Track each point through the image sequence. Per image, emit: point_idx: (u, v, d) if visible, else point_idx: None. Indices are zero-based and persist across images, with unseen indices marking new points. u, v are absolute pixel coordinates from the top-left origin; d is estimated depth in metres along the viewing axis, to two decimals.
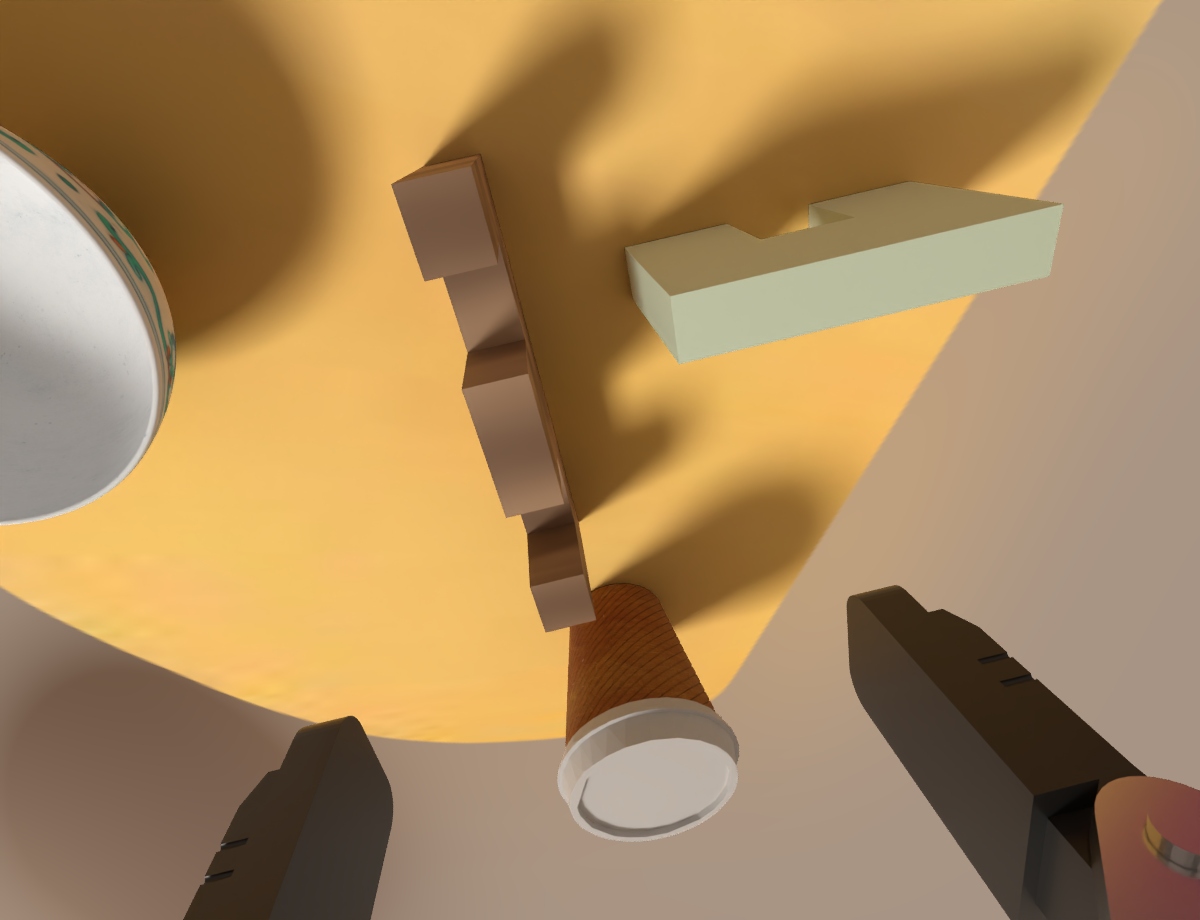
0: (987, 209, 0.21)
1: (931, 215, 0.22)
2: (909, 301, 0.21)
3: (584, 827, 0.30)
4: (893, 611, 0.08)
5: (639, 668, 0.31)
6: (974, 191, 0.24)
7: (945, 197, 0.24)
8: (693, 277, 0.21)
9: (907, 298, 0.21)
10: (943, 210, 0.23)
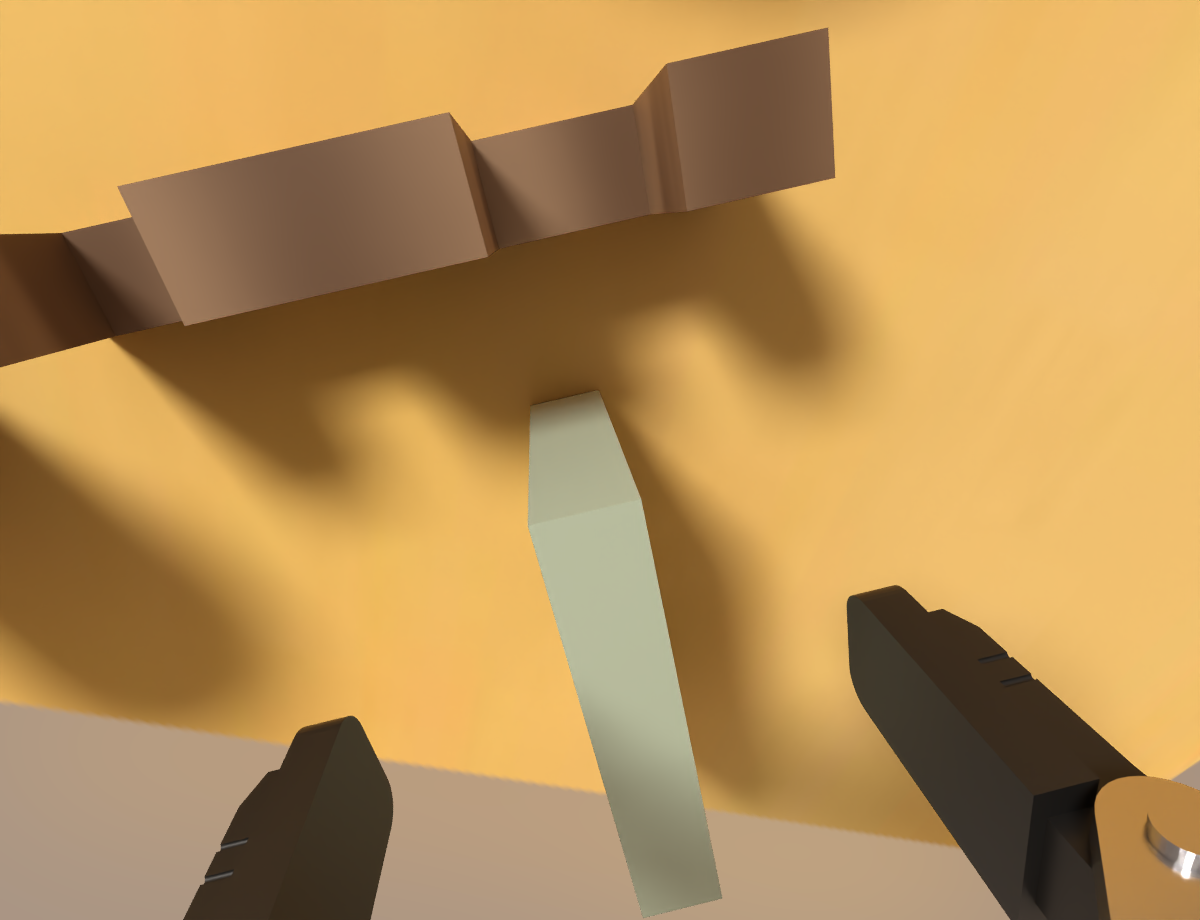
0: None
1: None
2: (619, 796, 0.16)
3: None
4: (893, 611, 0.08)
5: None
6: None
7: None
8: None
9: (622, 793, 0.16)
10: None
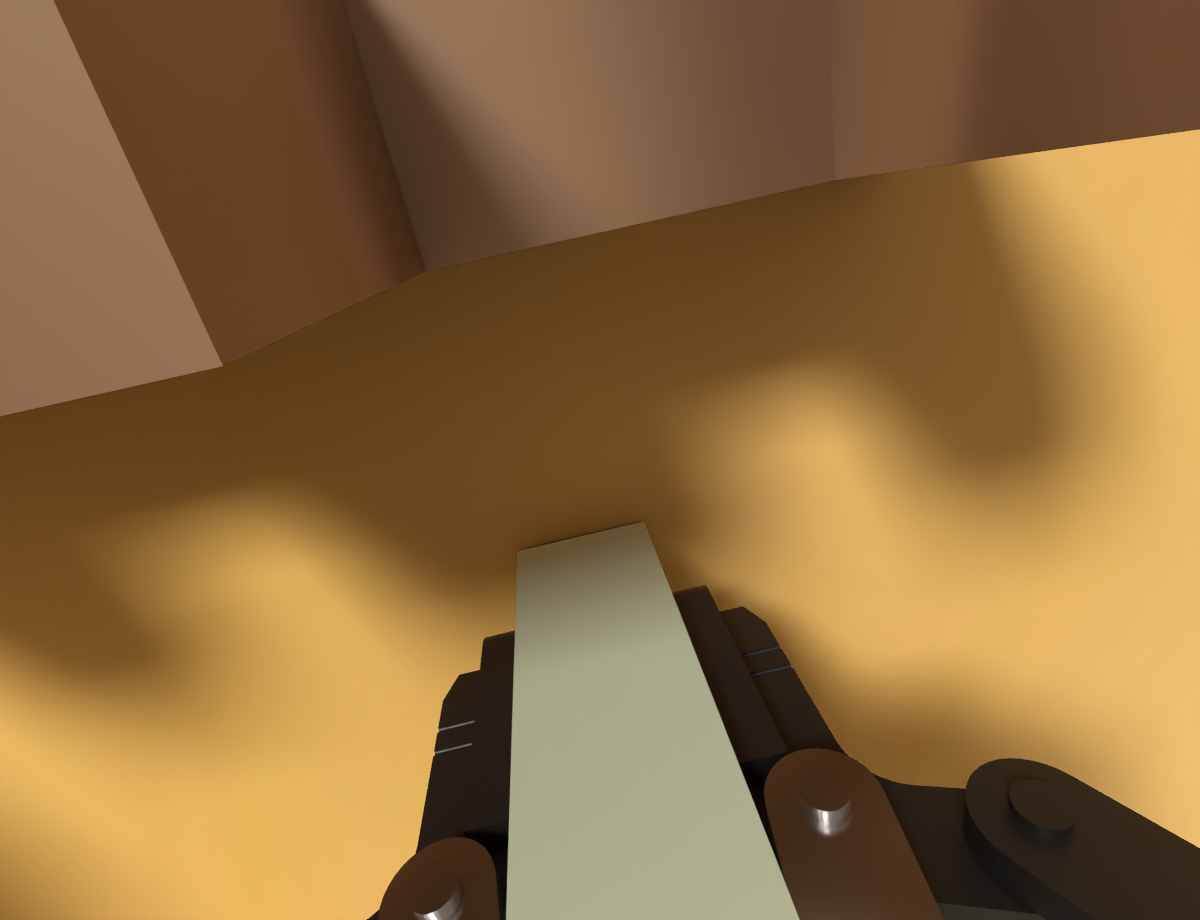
0: None
1: None
2: None
3: None
4: (690, 608, 0.09)
5: None
6: None
7: None
8: None
9: None
10: None
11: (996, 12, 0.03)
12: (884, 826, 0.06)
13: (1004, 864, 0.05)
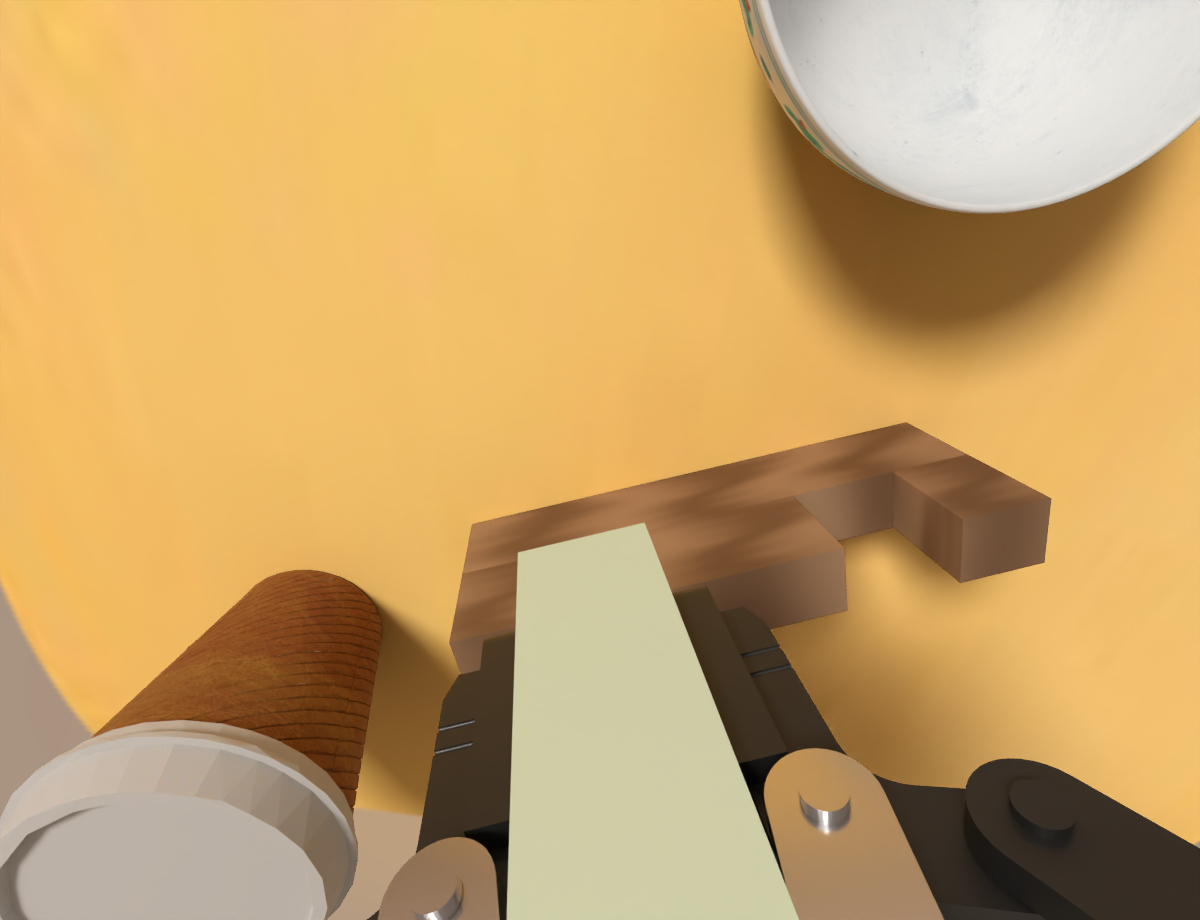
0: None
1: None
2: None
3: (27, 823, 0.14)
4: (690, 608, 0.09)
5: (356, 757, 0.20)
6: None
7: None
8: None
9: None
10: None
11: (925, 535, 0.22)
12: (884, 826, 0.06)
13: (1004, 865, 0.05)
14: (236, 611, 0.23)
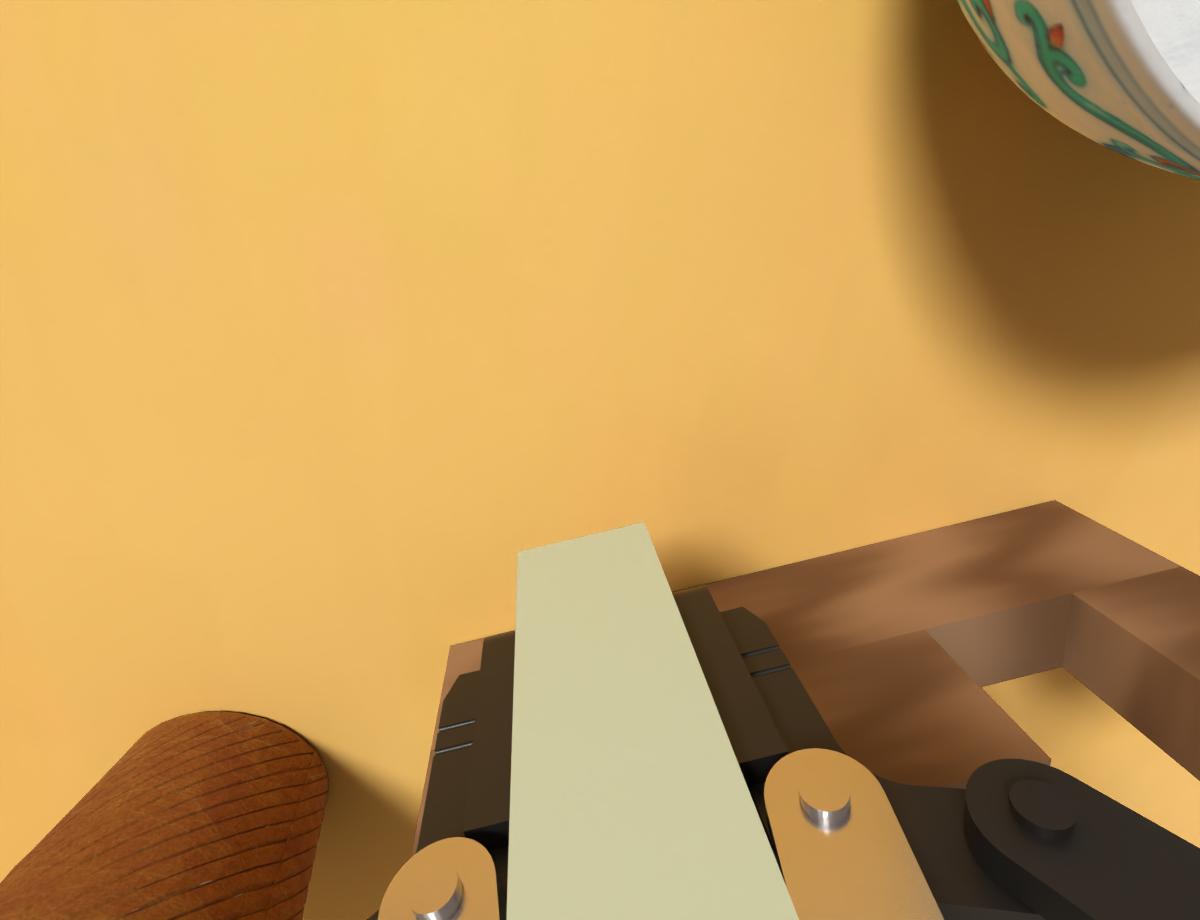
0: None
1: None
2: None
3: None
4: (690, 608, 0.09)
5: None
6: None
7: None
8: None
9: None
10: None
11: (1137, 700, 0.14)
12: (884, 826, 0.06)
13: (1004, 865, 0.05)
14: (96, 800, 0.15)
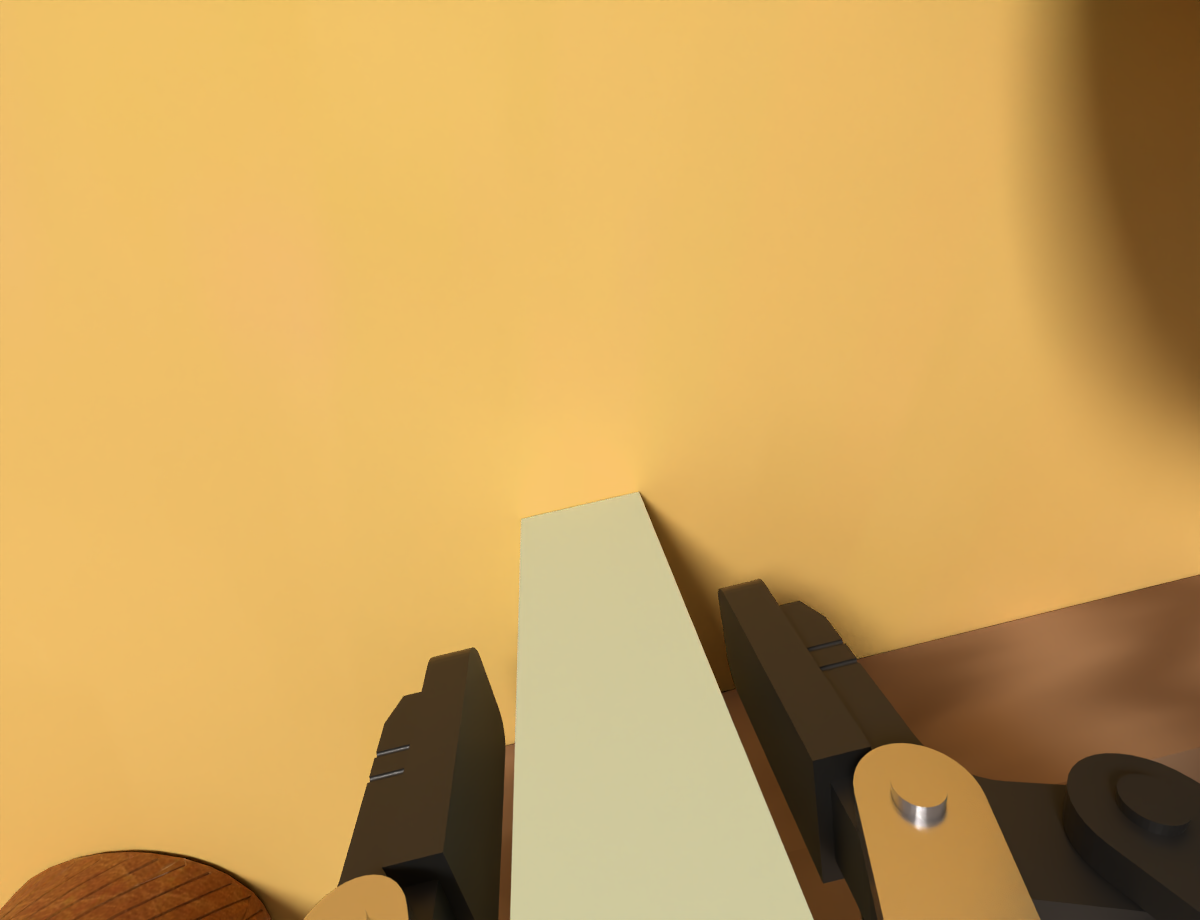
0: None
1: None
2: None
3: None
4: (747, 603, 0.09)
5: None
6: None
7: None
8: None
9: None
10: None
11: None
12: (985, 822, 0.06)
13: (1104, 852, 0.05)
14: None
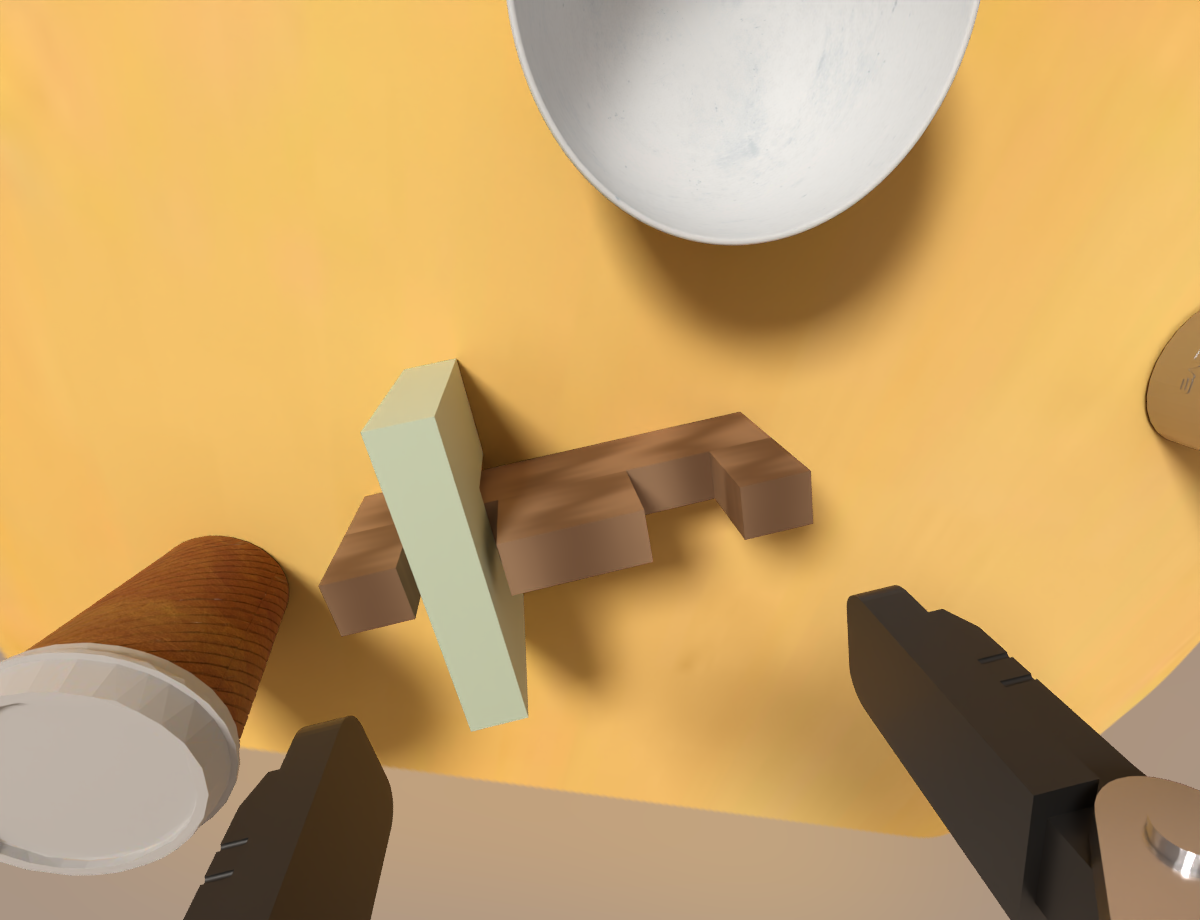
0: (518, 664, 0.26)
1: (510, 623, 0.26)
2: (442, 632, 0.23)
3: None
4: (893, 611, 0.08)
5: (247, 685, 0.24)
6: (525, 648, 0.29)
7: (519, 628, 0.29)
8: (449, 435, 0.22)
9: (445, 629, 0.23)
10: (514, 631, 0.27)
11: (727, 502, 0.26)
12: None
13: None
14: (150, 567, 0.27)
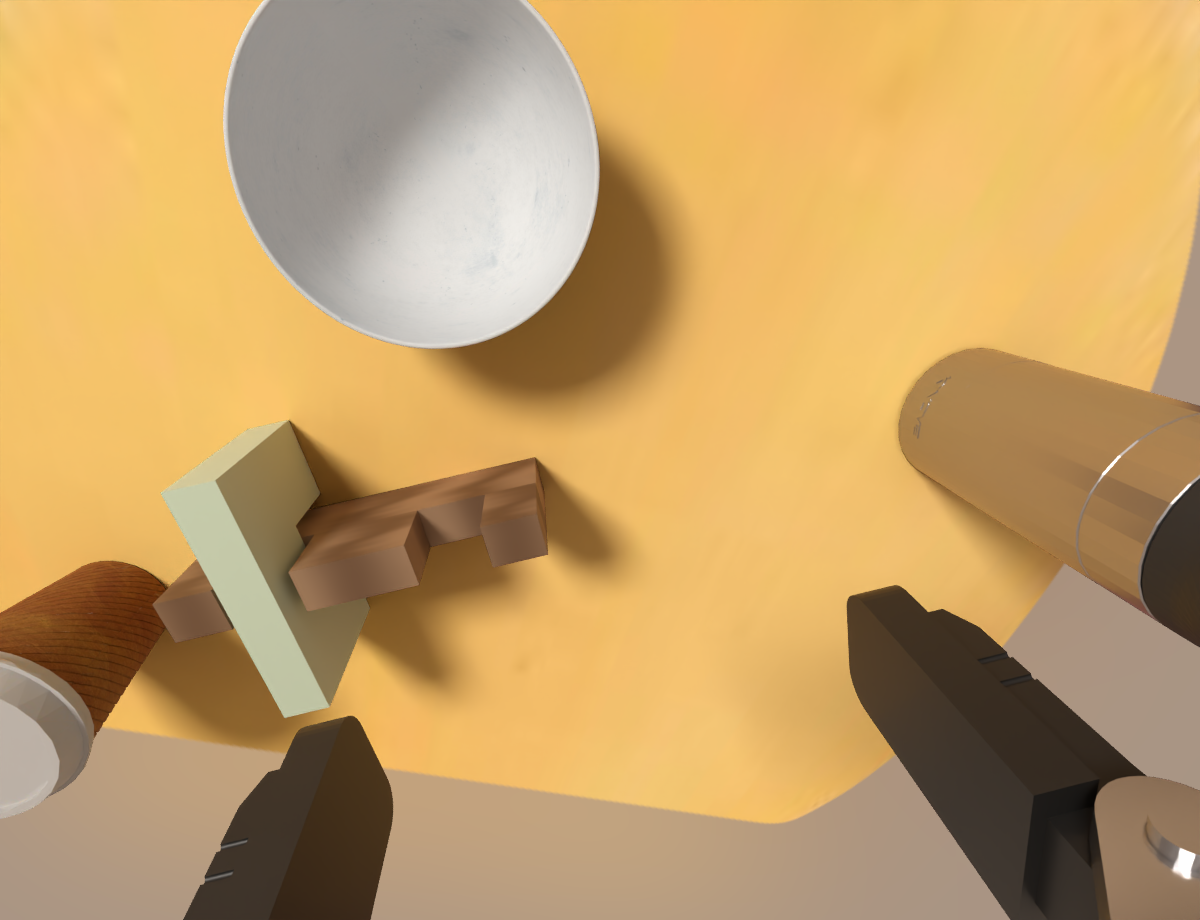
0: (326, 665, 0.33)
1: (321, 633, 0.33)
2: (248, 640, 0.30)
3: None
4: (893, 611, 0.08)
5: (108, 680, 0.32)
6: (351, 652, 0.36)
7: (345, 636, 0.36)
8: (242, 490, 0.29)
9: (250, 638, 0.30)
10: (327, 639, 0.34)
11: None
12: None
13: None
14: (45, 588, 0.34)
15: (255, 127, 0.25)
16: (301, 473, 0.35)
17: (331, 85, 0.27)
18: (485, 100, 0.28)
